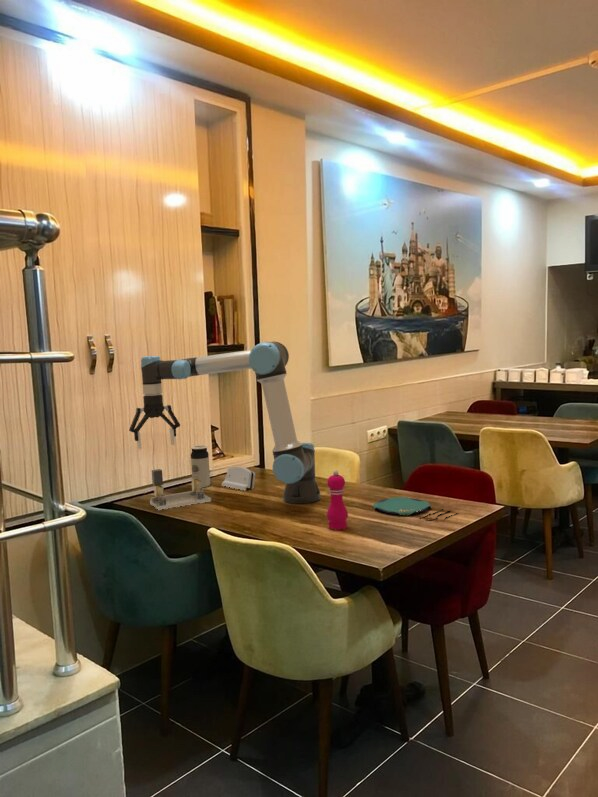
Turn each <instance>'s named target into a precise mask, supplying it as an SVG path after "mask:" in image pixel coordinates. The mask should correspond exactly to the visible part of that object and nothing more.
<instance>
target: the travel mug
mask: <svg viewBox="0 0 598 797" xmlns="http://www.w3.org/2000/svg"><path fill="white" fill-rule="evenodd" d="M208 447H209V446H208V445H205V444H204V445H203V444H202V445H201V444H199V445H193V446H191V447H190V449H191V453H190V466H191V468H190V470H191V480H192V479H195V478H198V479H199V481H201V482H202V484H201V488H207V487H210V485H211V477H210V476H211V475H210V474H211V473H210V457H209V456H210V454H209V452H208Z"/></svg>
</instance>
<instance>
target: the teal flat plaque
mask: <svg viewBox="0 0 598 797" xmlns="http://www.w3.org/2000/svg"><path fill="white" fill-rule="evenodd" d="M429 506H430V507H431V508H432V506H431V504H430V503H429V502H428V501H425V500H421V499H419V498H418V499H417V498H412V497H407V496H406V497H404V496H402V497H401V496H400V497H399V496H398V497H396V496H395V497H389V498H386V499H382V500H379V501H377V502H375V503H374V504H373V509H377V510H379V511H380V512H384V513H387V514H395V515H399V516H401V514H402V515H403V514H405V515H406V514H411V515H412V514H414V513H415V514H419V512H420V513H422V512H425V511H427V510H428V509H429ZM400 509H402V510H406V509H407V510H409V511H405V512H404V511H402V512H401V511H400V512H399V510H400ZM410 509H412V511H411V510H410ZM413 509H414V510H413ZM420 510H421V511H420ZM388 511H390V512H388ZM416 511H418V512H416ZM395 512H397V513H395ZM405 515H404V516H405ZM406 516H407V515H406Z"/></svg>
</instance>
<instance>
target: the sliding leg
mask: <svg viewBox="0 0 598 797" xmlns="http://www.w3.org/2000/svg"><path fill="white" fill-rule="evenodd" d="M151 480H152V484H151V485H153V493H154V497H162V496H163V495H164V487H163V485H164V482H163V481H164V479H163V470H162V469H161V468H159V469H152V470H151Z"/></svg>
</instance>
